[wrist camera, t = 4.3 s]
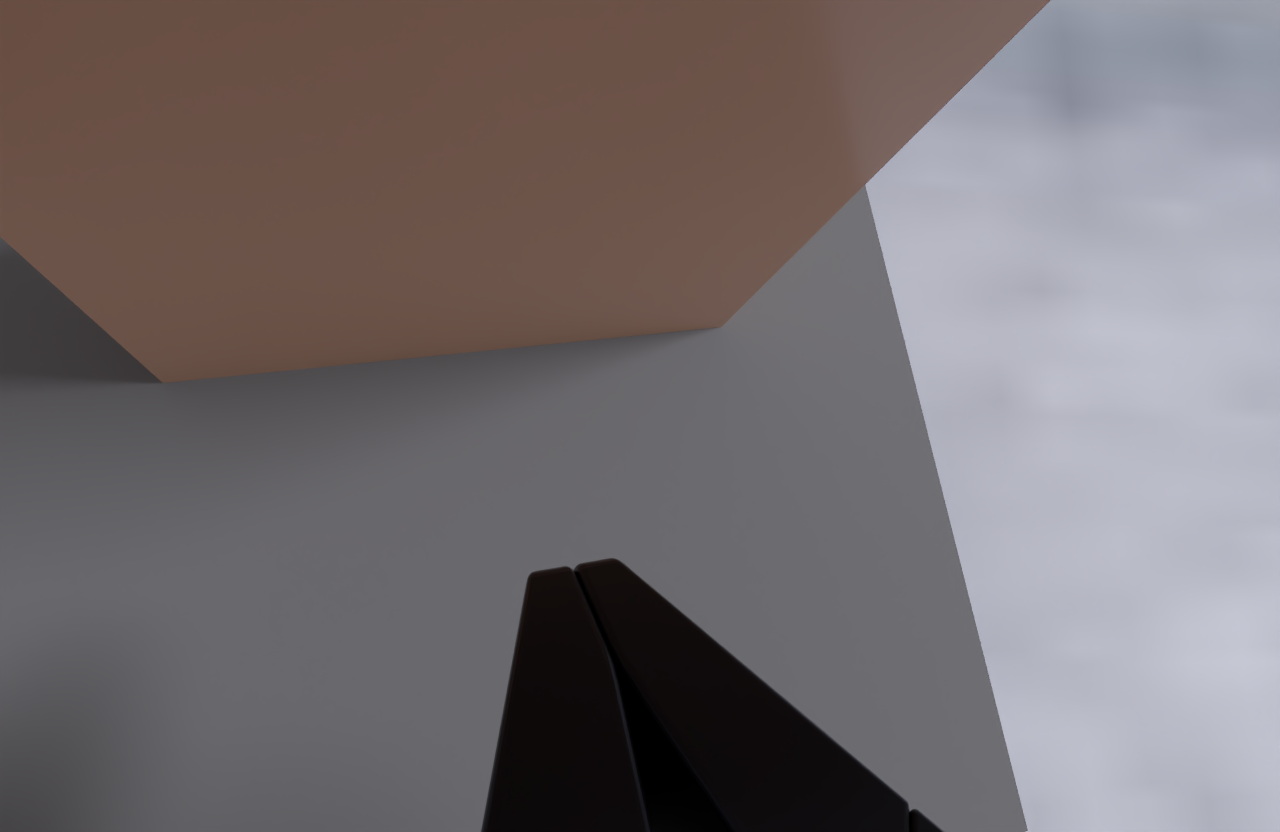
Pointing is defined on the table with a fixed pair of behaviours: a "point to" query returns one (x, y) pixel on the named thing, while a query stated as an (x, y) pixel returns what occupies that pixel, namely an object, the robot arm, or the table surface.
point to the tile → (447, 162)
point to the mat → (463, 556)
